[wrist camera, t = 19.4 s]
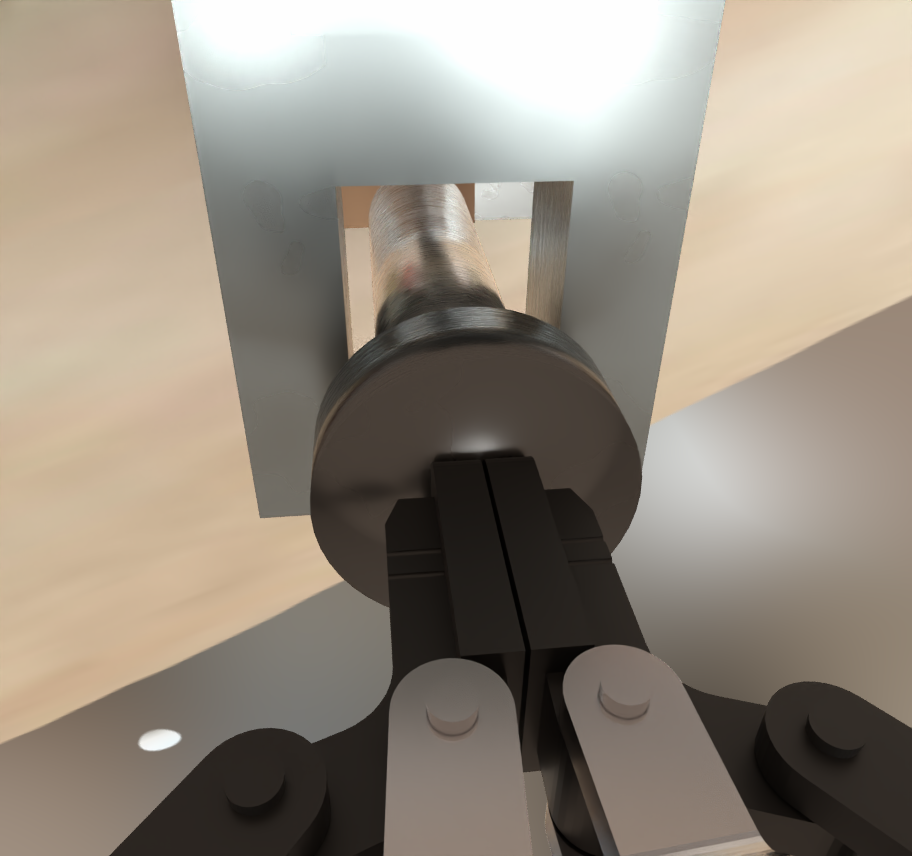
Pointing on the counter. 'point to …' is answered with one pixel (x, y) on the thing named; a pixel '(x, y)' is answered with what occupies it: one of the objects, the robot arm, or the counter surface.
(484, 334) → the ram
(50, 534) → the counter surface
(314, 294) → the press
